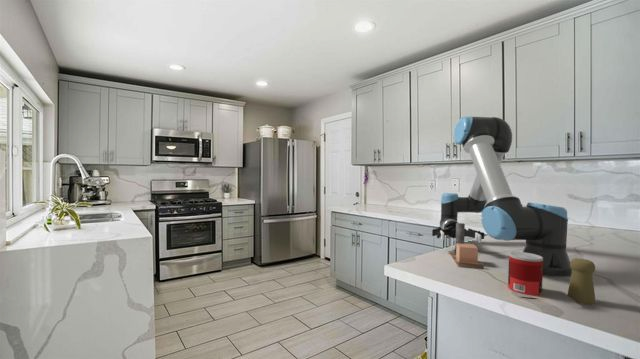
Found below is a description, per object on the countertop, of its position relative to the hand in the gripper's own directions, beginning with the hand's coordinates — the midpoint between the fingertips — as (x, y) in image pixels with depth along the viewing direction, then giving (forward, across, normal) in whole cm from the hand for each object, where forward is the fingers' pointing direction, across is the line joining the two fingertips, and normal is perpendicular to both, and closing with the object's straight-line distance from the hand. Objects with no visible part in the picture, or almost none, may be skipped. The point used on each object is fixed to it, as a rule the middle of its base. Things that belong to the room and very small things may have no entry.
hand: (461, 238), depth 122 cm
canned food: (+34, -10, -8) cm, 36 cm away
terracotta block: (+10, 0, -7) cm, 12 cm away
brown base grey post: (+6, 0, -8) cm, 10 cm away
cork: (+34, -24, -8) cm, 42 cm away
